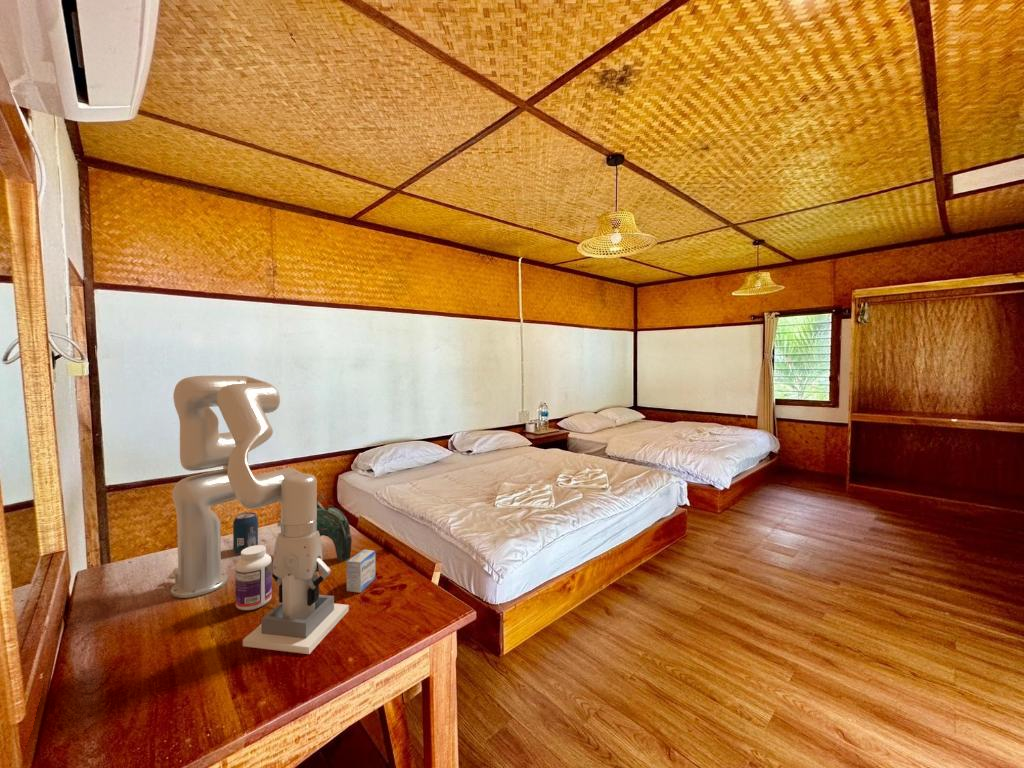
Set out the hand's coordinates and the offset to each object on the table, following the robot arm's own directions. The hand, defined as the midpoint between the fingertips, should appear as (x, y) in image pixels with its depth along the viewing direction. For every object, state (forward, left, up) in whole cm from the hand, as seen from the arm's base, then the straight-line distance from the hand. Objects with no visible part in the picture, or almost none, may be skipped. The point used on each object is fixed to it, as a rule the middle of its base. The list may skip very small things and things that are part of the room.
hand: (298, 600), depth 96 cm
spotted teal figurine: (-16, +36, -7) cm, 40 cm away
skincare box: (0, 0, -4) cm, 4 cm away
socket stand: (0, 0, -6) cm, 6 cm away
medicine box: (+5, +20, -7) cm, 22 cm away
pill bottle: (-18, +7, -7) cm, 20 cm away
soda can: (-44, +34, -7) cm, 56 cm away
